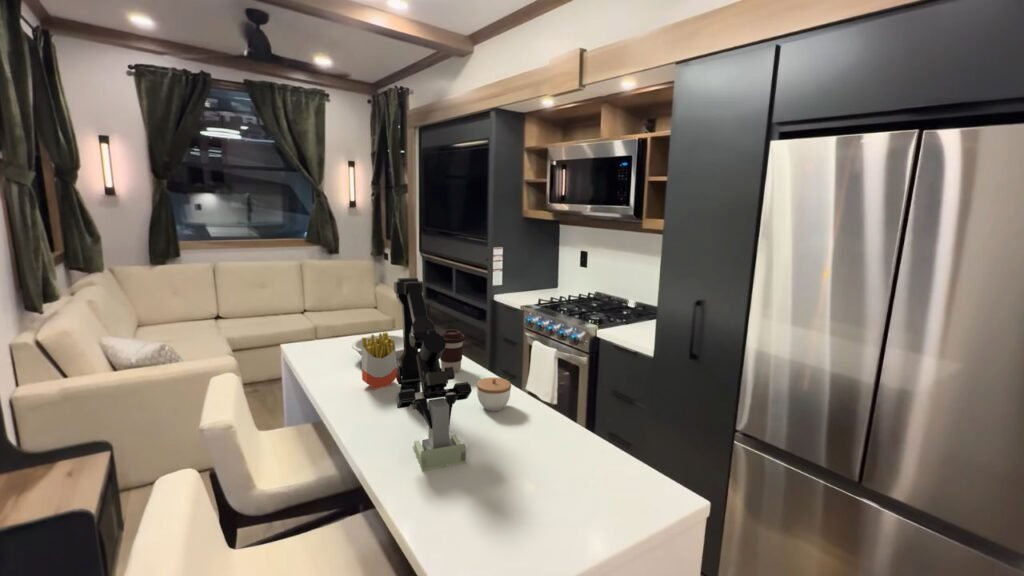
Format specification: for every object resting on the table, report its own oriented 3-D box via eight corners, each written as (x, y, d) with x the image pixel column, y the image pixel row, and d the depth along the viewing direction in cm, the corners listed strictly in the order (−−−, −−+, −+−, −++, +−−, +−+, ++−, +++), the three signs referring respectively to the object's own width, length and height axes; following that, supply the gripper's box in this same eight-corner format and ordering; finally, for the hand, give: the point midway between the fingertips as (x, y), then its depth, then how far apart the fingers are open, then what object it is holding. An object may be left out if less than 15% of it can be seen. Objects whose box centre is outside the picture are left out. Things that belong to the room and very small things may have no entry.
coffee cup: (469, 368, 181) (470, 331, 178) (452, 376, 173) (453, 337, 170) (449, 363, 186) (449, 326, 183) (432, 370, 178) (432, 332, 175)
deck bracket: (412, 447, 123) (412, 432, 122) (453, 440, 127) (453, 425, 126) (422, 470, 113) (422, 453, 112) (465, 462, 117) (465, 445, 116)
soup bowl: (406, 370, 177) (406, 353, 176) (342, 368, 177) (342, 351, 176) (419, 350, 201) (419, 335, 200) (363, 348, 201) (363, 333, 200)
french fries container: (397, 383, 164) (397, 334, 161) (367, 391, 157) (366, 339, 154) (391, 379, 168) (391, 331, 164) (362, 386, 161) (360, 335, 158)
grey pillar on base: (422, 447, 121) (422, 399, 119) (448, 442, 124) (449, 396, 121) (427, 459, 116) (427, 409, 113) (455, 453, 119) (455, 405, 116)
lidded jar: (494, 396, 156) (495, 370, 155) (517, 407, 149) (518, 379, 147) (469, 405, 149) (470, 377, 147) (492, 417, 141) (492, 388, 140)
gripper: (397, 360, 115) (406, 421, 107) (470, 352, 123) (483, 410, 115) (392, 378, 124) (400, 437, 116) (461, 371, 131) (472, 425, 123)
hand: (439, 427), depth 117 cm, fingers closed on grey pillar on base, 4 cm apart
